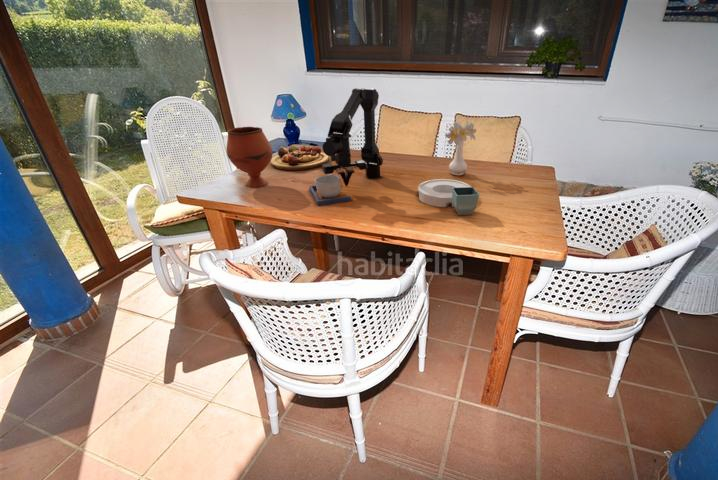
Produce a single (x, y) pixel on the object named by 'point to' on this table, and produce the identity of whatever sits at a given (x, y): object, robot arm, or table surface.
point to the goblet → (249, 152)
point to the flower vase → (459, 145)
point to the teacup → (328, 186)
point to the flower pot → (465, 200)
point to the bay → (327, 201)
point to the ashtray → (438, 191)
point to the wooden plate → (299, 158)
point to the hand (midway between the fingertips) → (346, 185)
